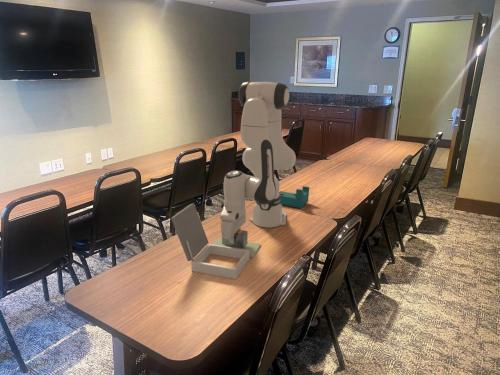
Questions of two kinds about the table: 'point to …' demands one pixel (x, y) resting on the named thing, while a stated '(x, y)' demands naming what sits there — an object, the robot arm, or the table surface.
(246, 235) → the module
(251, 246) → the sage mat
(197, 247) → the case lid
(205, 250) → the equipment case
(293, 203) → the teal l-shaped bracket
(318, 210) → the table surface
